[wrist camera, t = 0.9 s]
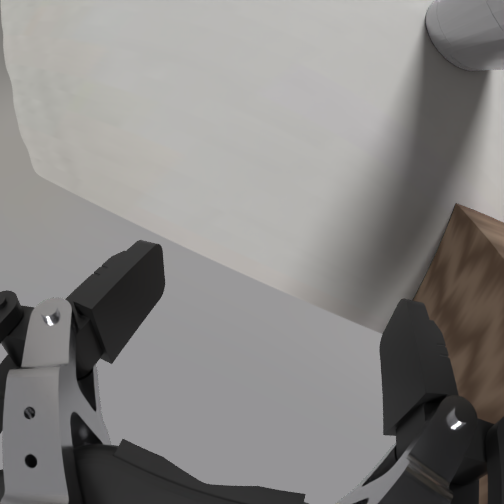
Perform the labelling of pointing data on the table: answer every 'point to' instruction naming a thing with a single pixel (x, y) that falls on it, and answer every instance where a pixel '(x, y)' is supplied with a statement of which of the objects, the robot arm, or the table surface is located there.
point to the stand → (471, 310)
